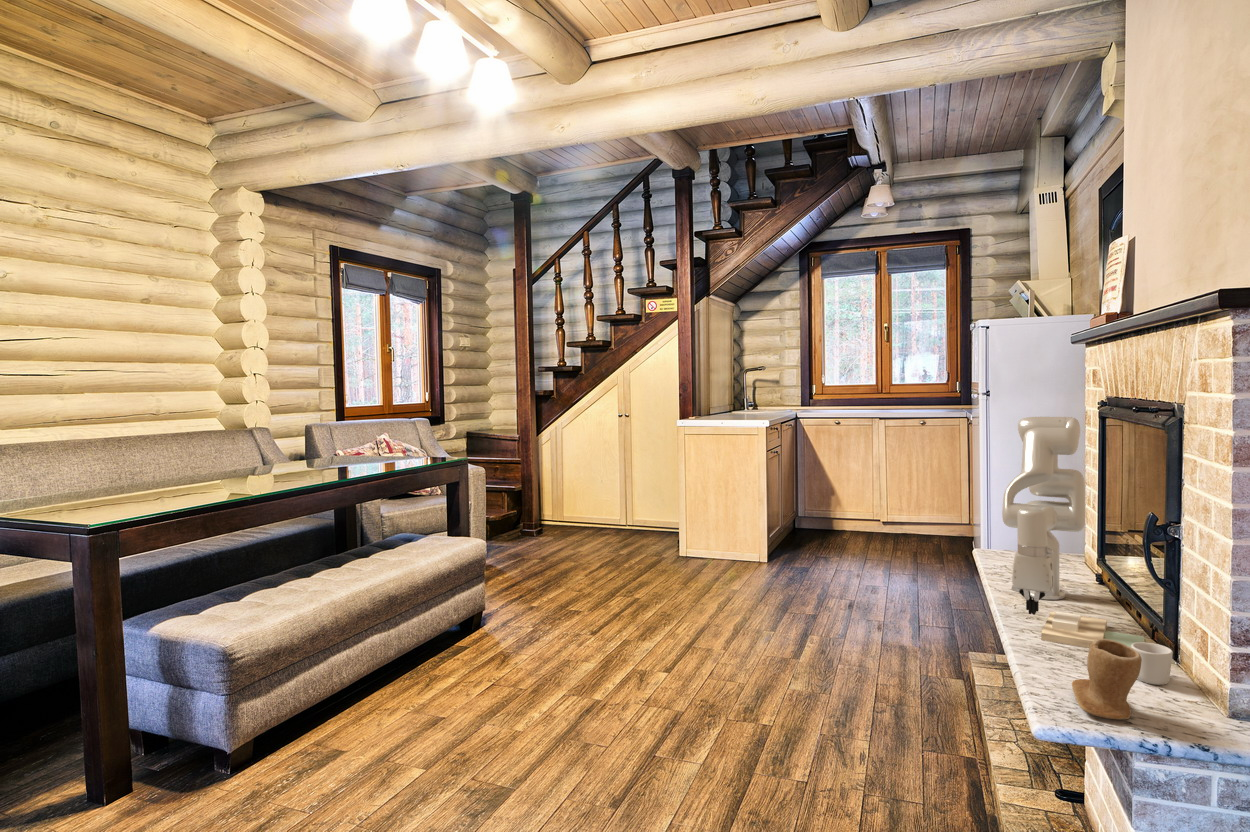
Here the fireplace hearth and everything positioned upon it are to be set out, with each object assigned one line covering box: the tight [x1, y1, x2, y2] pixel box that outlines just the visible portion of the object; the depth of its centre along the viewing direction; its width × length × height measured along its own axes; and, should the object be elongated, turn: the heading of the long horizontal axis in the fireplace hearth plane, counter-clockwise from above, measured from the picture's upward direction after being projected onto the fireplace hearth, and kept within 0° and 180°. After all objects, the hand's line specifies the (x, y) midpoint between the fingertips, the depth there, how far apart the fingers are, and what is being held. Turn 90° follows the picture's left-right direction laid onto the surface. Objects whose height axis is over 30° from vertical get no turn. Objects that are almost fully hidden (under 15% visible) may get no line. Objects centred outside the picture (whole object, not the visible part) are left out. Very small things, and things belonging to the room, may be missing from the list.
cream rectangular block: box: [1052, 611, 1082, 632], centre depth 203 cm, size 10×6×2 cm, turn 143°
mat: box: [1104, 630, 1145, 647], centre depth 192 cm, size 18×9×1 cm, turn 143°
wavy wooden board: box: [1040, 611, 1108, 649], centre depth 202 cm, size 22×14×2 cm, turn 143°
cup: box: [1131, 641, 1174, 686], centre depth 170 cm, size 11×8×8 cm
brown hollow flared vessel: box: [1071, 639, 1142, 721], centre depth 156 cm, size 15×12×15 cm
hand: (1032, 613), depth 208 cm, fingers closed
